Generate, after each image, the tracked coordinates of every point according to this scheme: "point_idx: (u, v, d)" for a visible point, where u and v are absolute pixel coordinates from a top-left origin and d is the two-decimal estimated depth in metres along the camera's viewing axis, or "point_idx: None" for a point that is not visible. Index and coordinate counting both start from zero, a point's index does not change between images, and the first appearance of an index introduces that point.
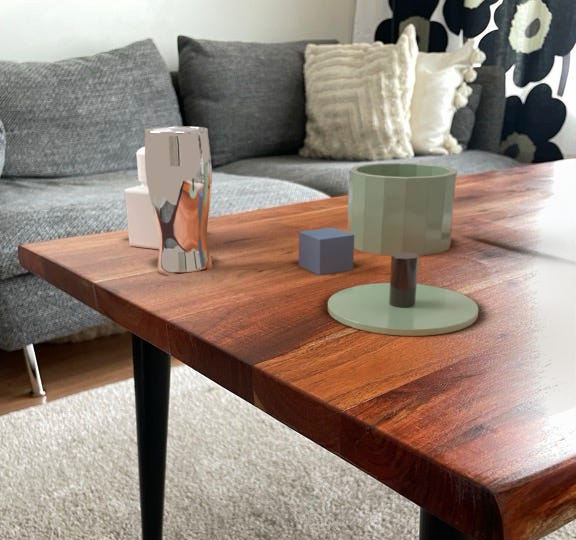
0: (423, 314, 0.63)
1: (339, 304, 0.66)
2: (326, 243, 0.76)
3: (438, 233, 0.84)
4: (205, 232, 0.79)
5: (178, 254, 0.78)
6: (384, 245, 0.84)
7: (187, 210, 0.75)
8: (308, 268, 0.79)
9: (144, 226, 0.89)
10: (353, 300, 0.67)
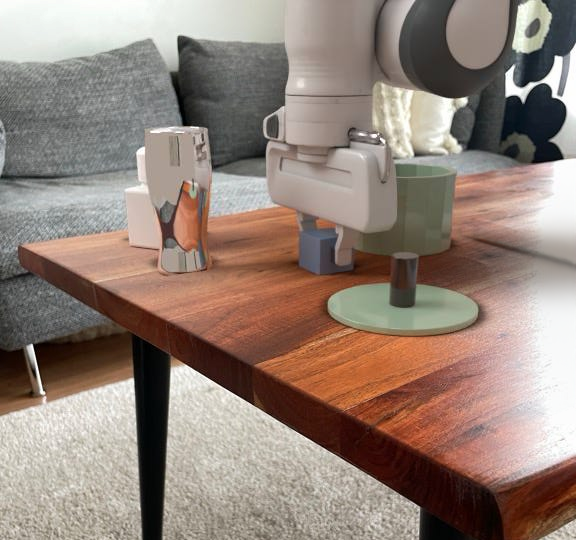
0: (423, 314, 0.63)
1: (339, 304, 0.66)
2: (326, 243, 0.76)
3: (438, 233, 0.84)
4: (205, 232, 0.79)
5: (178, 254, 0.78)
6: (384, 245, 0.84)
7: (187, 210, 0.75)
8: (308, 268, 0.79)
9: (144, 226, 0.89)
10: (353, 300, 0.67)
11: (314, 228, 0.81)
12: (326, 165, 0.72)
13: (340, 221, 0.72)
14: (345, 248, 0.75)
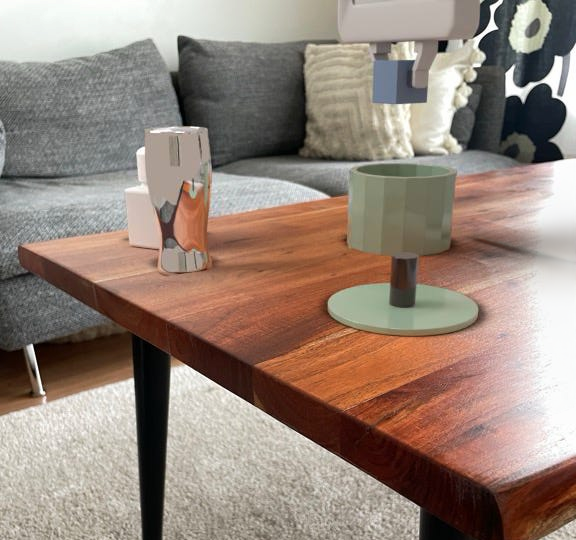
0: (423, 314, 0.63)
1: (339, 304, 0.66)
2: (403, 65, 0.77)
3: (438, 233, 0.84)
4: (205, 232, 0.79)
5: (178, 254, 0.78)
6: (384, 245, 0.84)
7: (187, 210, 0.75)
8: (383, 96, 0.80)
9: (144, 226, 0.89)
10: (353, 300, 0.67)
11: None
12: None
13: (421, 34, 0.74)
14: (422, 69, 0.77)
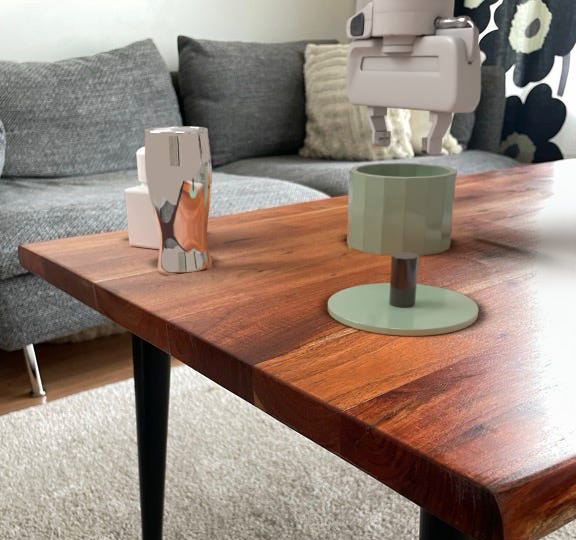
0: (423, 314, 0.63)
1: (339, 304, 0.66)
2: None
3: (438, 233, 0.84)
4: (205, 232, 0.79)
5: (178, 254, 0.78)
6: (384, 245, 0.84)
7: (187, 210, 0.75)
8: None
9: (144, 226, 0.89)
10: (353, 300, 0.67)
11: (383, 123, 0.89)
12: (412, 54, 0.78)
13: (425, 106, 0.78)
14: (437, 137, 0.80)
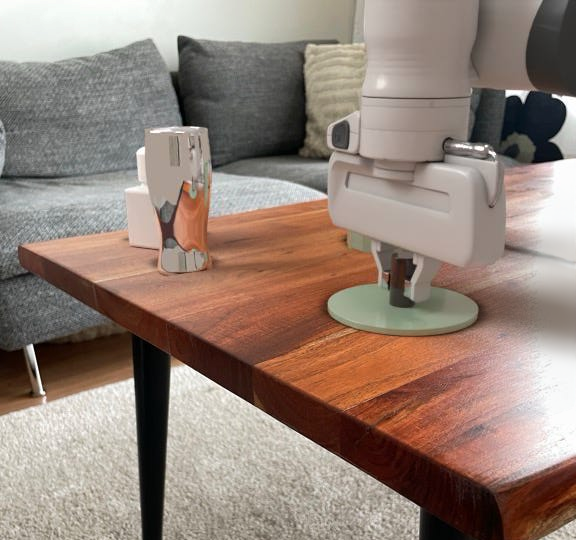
0: (423, 314, 0.63)
1: (339, 304, 0.66)
2: None
3: None
4: (205, 232, 0.79)
5: (178, 254, 0.78)
6: None
7: (187, 210, 0.75)
8: None
9: (144, 226, 0.89)
10: (353, 300, 0.67)
11: None
12: (412, 183, 0.58)
13: (430, 253, 0.58)
14: (423, 281, 0.62)
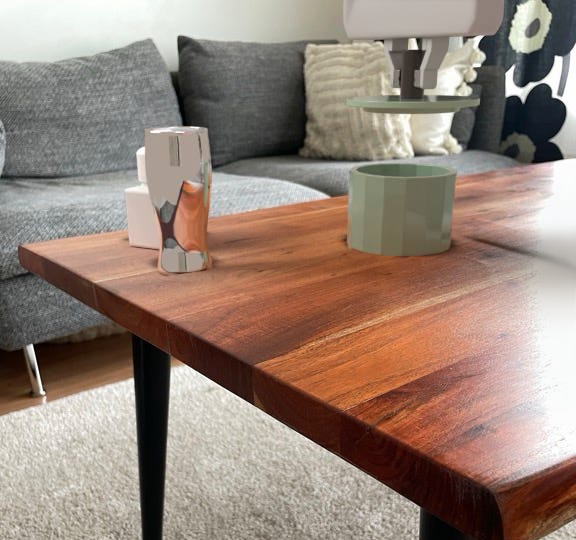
0: (431, 99, 0.71)
1: None
2: None
3: (438, 233, 0.84)
4: (205, 232, 0.79)
5: (178, 254, 0.78)
6: (384, 245, 0.84)
7: (187, 210, 0.75)
8: None
9: (144, 226, 0.89)
10: None
11: None
12: None
13: (437, 30, 0.66)
14: (431, 68, 0.70)
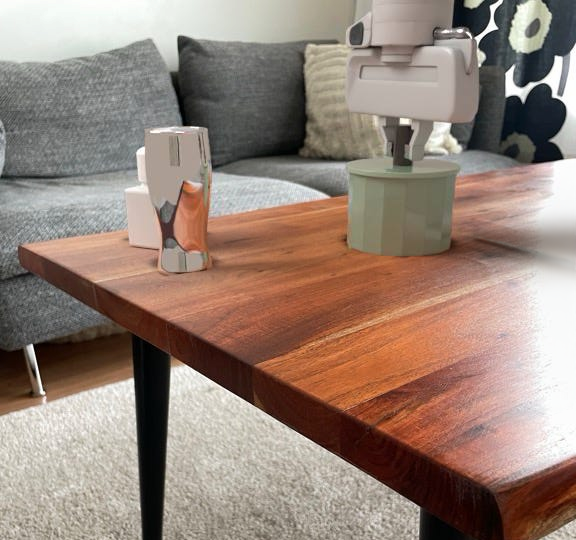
0: (419, 168, 0.83)
1: (354, 165, 0.86)
2: None
3: (438, 233, 0.84)
4: (205, 232, 0.79)
5: (178, 254, 0.78)
6: (384, 245, 0.84)
7: (187, 210, 0.75)
8: None
9: (144, 226, 0.89)
10: (365, 163, 0.87)
11: None
12: (410, 64, 0.79)
13: (423, 115, 0.79)
14: (419, 144, 0.83)
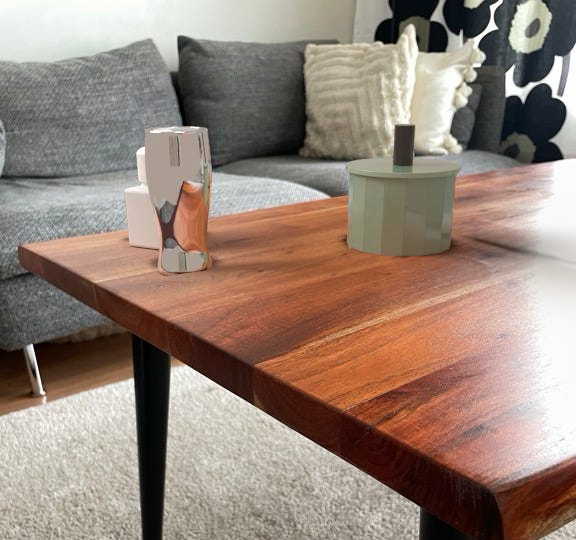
0: (419, 168, 0.83)
1: (354, 165, 0.86)
2: None
3: (438, 233, 0.84)
4: (205, 232, 0.79)
5: (178, 254, 0.78)
6: (384, 245, 0.84)
7: (187, 210, 0.75)
8: None
9: (144, 226, 0.89)
10: (365, 163, 0.87)
11: None
12: None
13: None
14: None
